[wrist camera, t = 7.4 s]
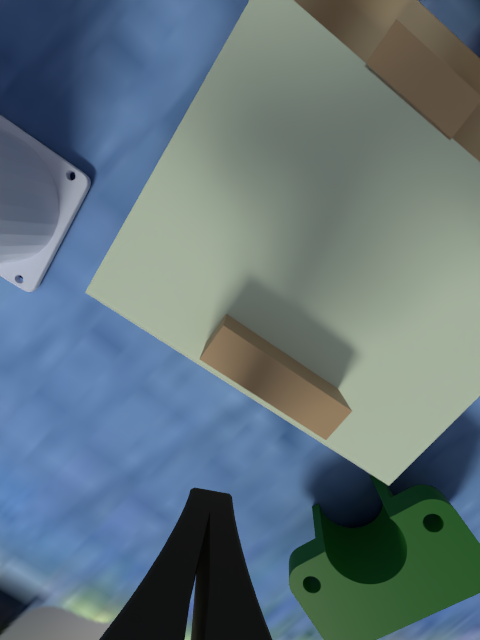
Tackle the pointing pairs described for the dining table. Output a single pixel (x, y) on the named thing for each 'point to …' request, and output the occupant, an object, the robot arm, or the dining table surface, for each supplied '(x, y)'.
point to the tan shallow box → (402, 4)
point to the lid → (317, 237)
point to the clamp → (386, 566)
